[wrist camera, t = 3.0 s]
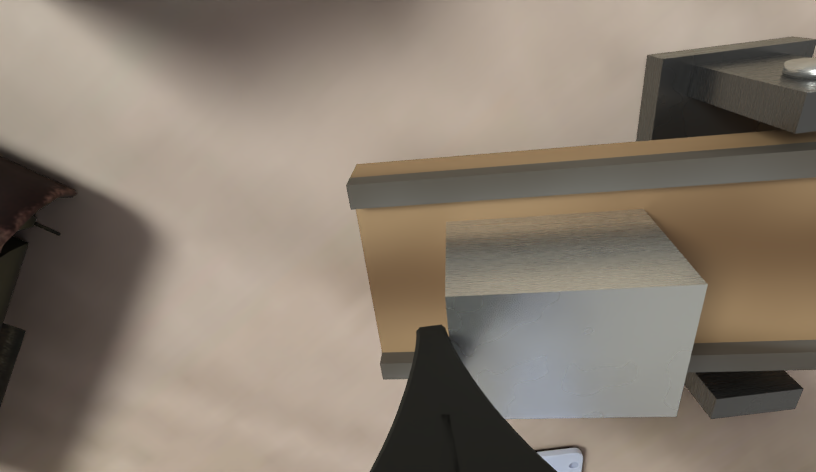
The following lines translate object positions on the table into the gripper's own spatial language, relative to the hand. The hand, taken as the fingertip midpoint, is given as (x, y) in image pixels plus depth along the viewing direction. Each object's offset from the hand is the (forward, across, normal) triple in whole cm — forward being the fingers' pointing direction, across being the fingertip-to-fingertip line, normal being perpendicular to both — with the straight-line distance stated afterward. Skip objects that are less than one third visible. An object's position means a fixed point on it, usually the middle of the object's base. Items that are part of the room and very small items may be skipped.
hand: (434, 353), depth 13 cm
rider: (+3, -4, 0) cm, 5 cm away
